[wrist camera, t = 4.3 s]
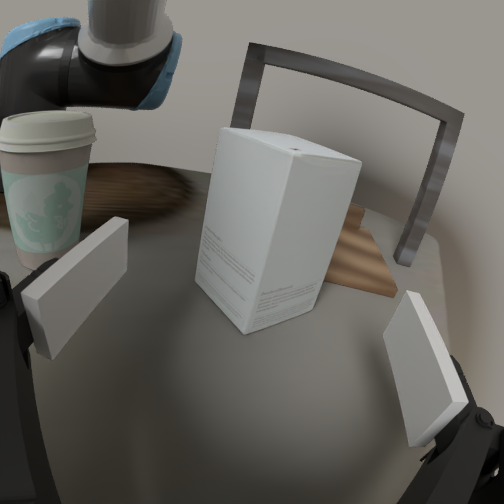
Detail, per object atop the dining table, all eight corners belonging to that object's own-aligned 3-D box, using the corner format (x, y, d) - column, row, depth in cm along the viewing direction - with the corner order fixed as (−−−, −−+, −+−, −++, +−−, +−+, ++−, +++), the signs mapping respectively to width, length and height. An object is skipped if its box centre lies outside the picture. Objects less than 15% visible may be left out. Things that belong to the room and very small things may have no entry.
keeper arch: (431, 306, 31) (505, 121, 21) (191, 246, 31) (234, 23, 22) (396, 244, 45) (441, 110, 35) (224, 198, 45) (256, 51, 36)
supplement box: (314, 311, 26) (368, 162, 20) (242, 338, 22) (291, 151, 16) (260, 265, 31) (294, 133, 25) (191, 279, 26) (217, 123, 21)
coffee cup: (-8, 277, 19) (-24, 126, 14) (23, 230, 27) (21, 110, 21) (85, 284, 22) (86, 124, 17) (99, 234, 29) (106, 110, 24)
